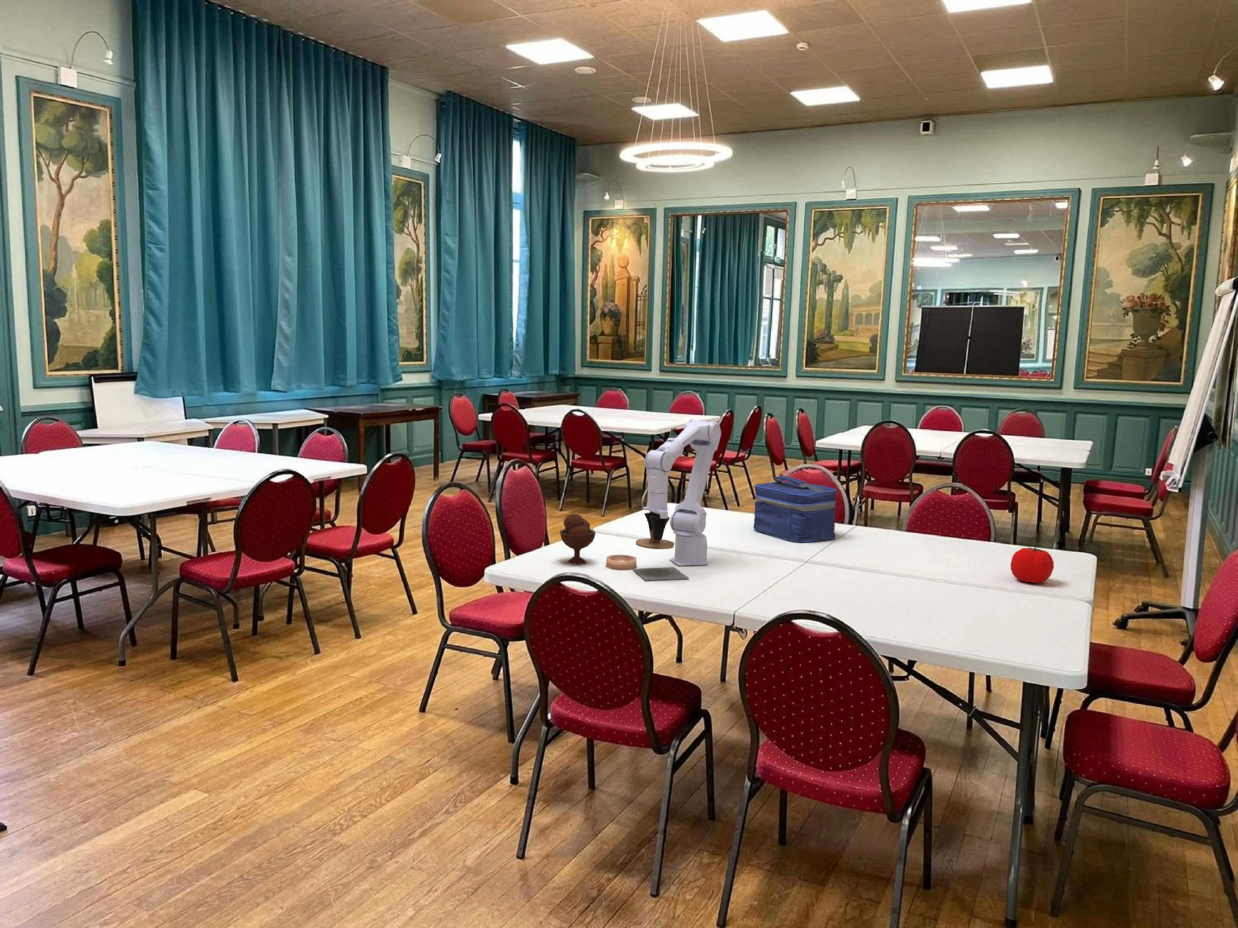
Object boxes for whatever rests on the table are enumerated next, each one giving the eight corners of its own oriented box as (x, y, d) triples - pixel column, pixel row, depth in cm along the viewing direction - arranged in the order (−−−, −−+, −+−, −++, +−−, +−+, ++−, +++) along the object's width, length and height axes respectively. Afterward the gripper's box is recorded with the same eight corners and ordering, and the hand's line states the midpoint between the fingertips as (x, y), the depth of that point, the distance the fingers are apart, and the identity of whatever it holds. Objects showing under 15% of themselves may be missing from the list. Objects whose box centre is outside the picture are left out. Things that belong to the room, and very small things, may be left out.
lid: (669, 541, 270) (670, 527, 270) (677, 549, 260) (678, 534, 259) (633, 540, 269) (633, 526, 268) (639, 548, 258) (640, 533, 257)
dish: (631, 562, 278) (631, 554, 278) (639, 569, 270) (640, 561, 269) (602, 563, 276) (603, 555, 276) (610, 570, 267) (610, 562, 267)
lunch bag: (740, 528, 335) (743, 473, 333) (783, 523, 347) (786, 470, 344) (800, 545, 310) (803, 485, 307) (844, 539, 321) (847, 482, 318)
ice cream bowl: (590, 567, 270) (591, 517, 268) (554, 564, 272) (555, 515, 270) (598, 559, 280) (599, 511, 278) (563, 557, 282) (564, 509, 281)
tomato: (1025, 587, 262) (1028, 552, 260) (1001, 577, 273) (1003, 543, 272) (1061, 586, 264) (1065, 551, 263) (1036, 576, 275) (1039, 542, 274)
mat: (674, 568, 272) (674, 567, 272) (689, 579, 260) (689, 578, 260) (632, 570, 269) (632, 568, 269) (645, 581, 256) (645, 579, 256)
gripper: (637, 488, 268) (635, 533, 270) (651, 496, 254) (650, 544, 256) (660, 488, 270) (658, 533, 272) (675, 496, 256) (673, 543, 258)
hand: (656, 538), depth 264 cm, fingers closed on lid, 3 cm apart
